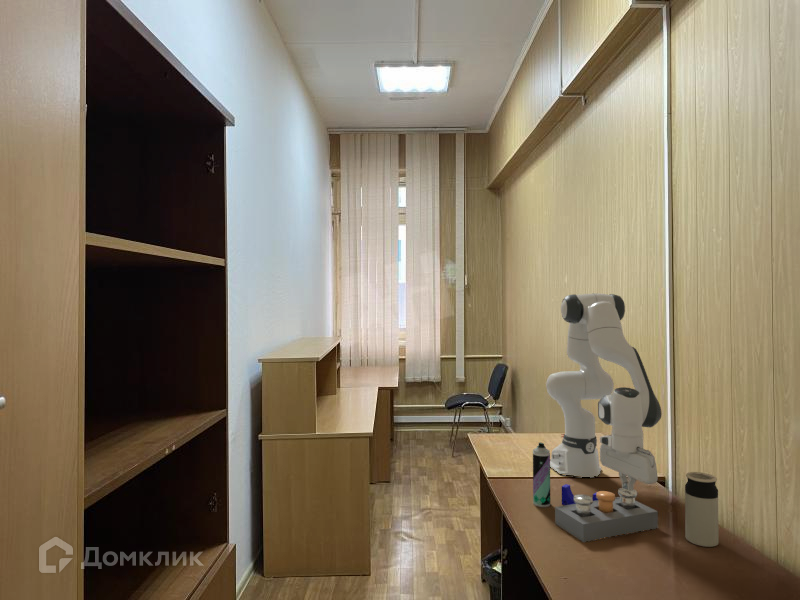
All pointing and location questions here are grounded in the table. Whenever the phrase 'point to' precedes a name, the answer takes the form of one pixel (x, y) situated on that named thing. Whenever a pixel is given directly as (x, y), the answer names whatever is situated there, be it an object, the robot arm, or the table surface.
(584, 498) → the near knob
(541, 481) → the spray can
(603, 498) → the orange knob
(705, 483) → the travel mug
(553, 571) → the table surface
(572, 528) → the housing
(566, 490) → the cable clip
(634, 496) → the far knob
